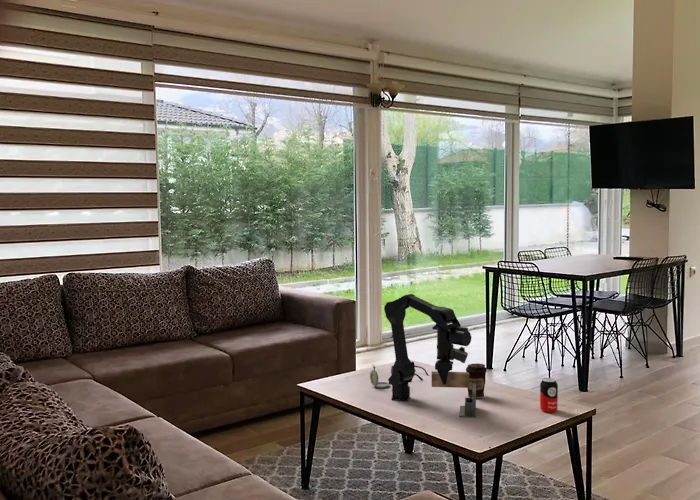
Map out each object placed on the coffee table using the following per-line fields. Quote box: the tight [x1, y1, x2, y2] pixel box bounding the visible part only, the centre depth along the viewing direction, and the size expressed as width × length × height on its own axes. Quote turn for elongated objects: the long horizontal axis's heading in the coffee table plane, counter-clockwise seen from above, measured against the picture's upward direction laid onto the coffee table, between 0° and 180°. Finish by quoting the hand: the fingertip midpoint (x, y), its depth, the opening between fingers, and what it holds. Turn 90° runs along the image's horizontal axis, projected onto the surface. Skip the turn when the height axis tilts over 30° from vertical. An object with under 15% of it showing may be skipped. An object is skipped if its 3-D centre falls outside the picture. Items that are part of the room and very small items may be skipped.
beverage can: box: [539, 377, 559, 414], centre depth 256 cm, size 6×6×12 cm
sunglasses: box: [390, 364, 430, 381], centre depth 307 cm, size 14×16×5 cm
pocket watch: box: [369, 364, 390, 389], centre depth 291 cm, size 8×8×10 cm
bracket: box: [458, 383, 477, 418], centre depth 256 cm, size 6×12×9 cm, turn 169°
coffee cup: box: [465, 362, 488, 399], centre depth 275 cm, size 9×8×13 cm
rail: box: [431, 371, 469, 389], centre depth 257 cm, size 14×4×5 cm, turn 83°
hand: (444, 382), depth 257 cm, fingers closed on rail, 4 cm apart
